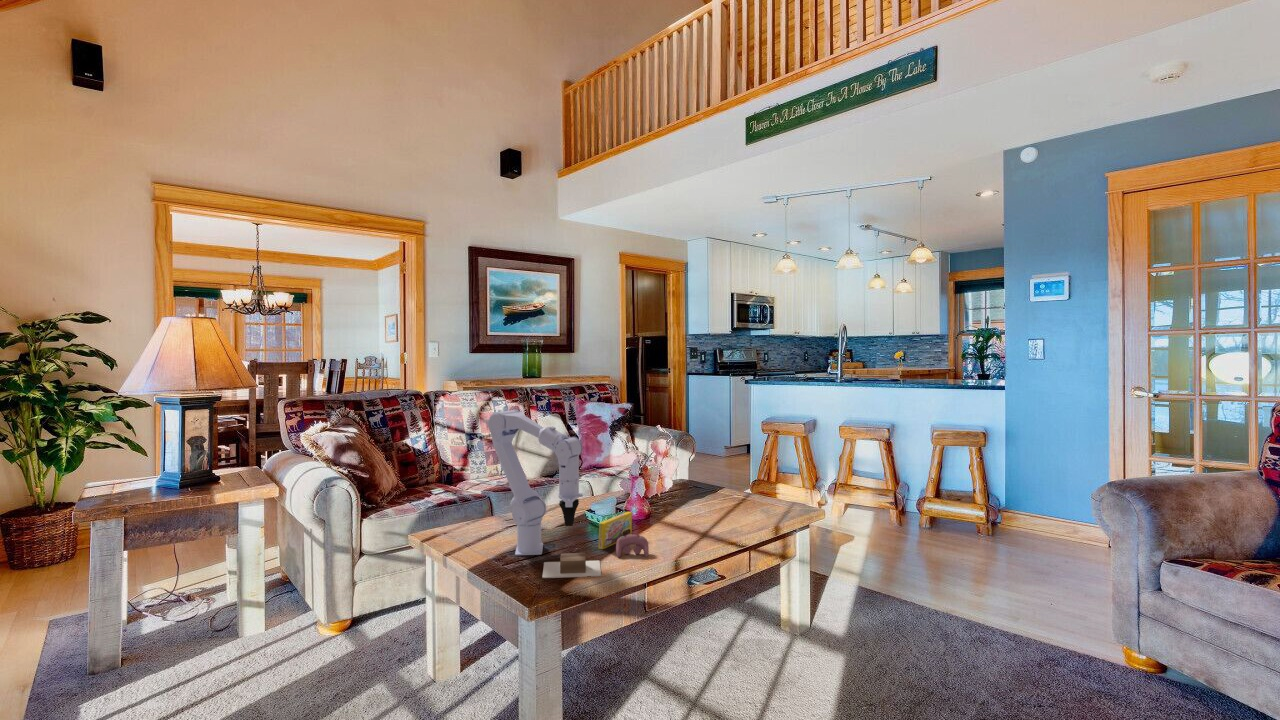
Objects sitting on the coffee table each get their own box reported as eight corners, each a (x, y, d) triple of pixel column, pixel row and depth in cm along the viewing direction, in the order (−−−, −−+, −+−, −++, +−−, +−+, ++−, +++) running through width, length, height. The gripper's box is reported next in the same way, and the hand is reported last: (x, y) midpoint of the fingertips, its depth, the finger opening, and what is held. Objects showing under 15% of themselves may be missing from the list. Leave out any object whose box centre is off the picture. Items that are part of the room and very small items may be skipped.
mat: (544, 563, 177) (544, 562, 177) (599, 561, 179) (599, 560, 179) (542, 578, 166) (542, 576, 166) (601, 576, 168) (601, 574, 168)
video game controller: (648, 558, 186) (647, 535, 189) (649, 556, 182) (648, 532, 185) (615, 559, 186) (615, 535, 189) (616, 557, 182) (616, 533, 185)
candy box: (603, 550, 189) (603, 523, 189) (597, 549, 191) (597, 522, 190) (632, 536, 203) (632, 511, 203) (627, 535, 204) (627, 510, 204)
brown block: (560, 553, 175) (560, 561, 169) (585, 552, 175) (585, 560, 169) (560, 565, 175) (560, 573, 169) (585, 564, 175) (585, 572, 170)
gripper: (583, 484, 173) (583, 532, 173) (582, 473, 187) (582, 517, 187) (557, 485, 172) (558, 533, 172) (558, 474, 186) (559, 518, 187)
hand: (569, 525), depth 180 cm, fingers closed
